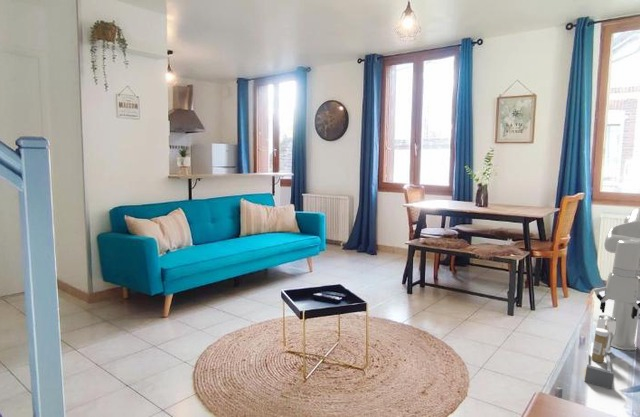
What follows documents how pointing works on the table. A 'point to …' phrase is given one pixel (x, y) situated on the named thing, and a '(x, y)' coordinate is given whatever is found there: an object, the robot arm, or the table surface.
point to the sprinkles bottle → (599, 345)
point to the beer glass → (610, 326)
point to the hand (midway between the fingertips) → (617, 314)
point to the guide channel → (598, 373)
